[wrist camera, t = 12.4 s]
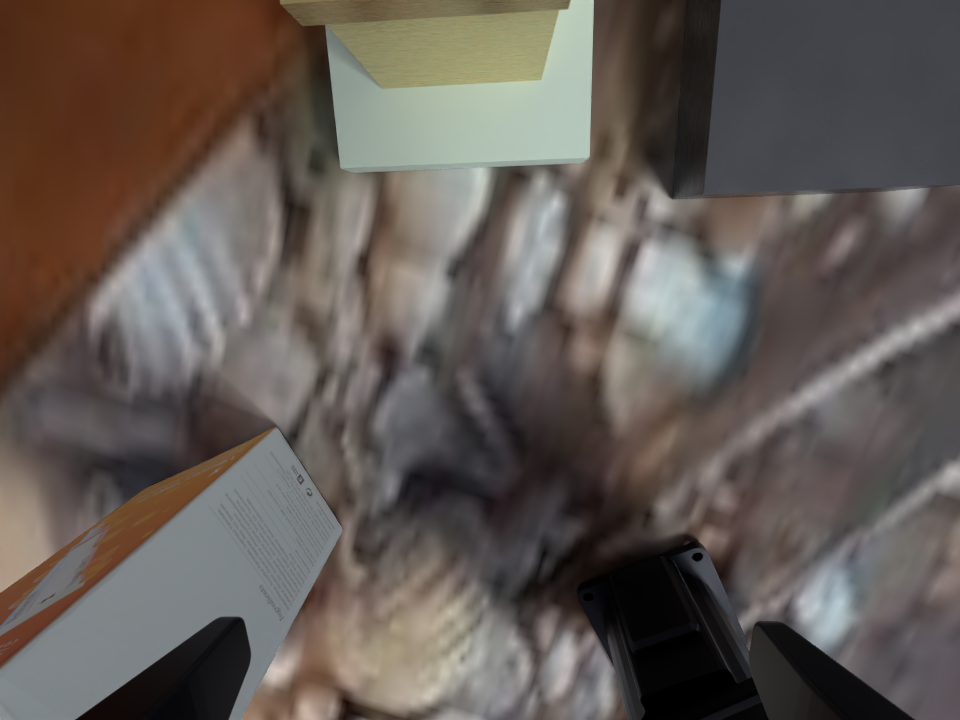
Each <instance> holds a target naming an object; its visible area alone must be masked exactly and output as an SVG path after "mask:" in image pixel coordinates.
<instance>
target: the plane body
mask: <svg viewBox="0 0 960 720" xmlns="http://www.w3.org/2000/svg"><path fill="white" fill-rule="evenodd" d="M950 185H960V0H687V5H686V19H685V32H684V46H683V60H682V73H681V87H680V100H679V114H678V128H677V141H676V155H675V168H674V182H673V196H672V199H697V198H723V197H750V196H776V195H803V194H829V193H855V192H882V191H896V190H907V189H917V188H928V187H939V186H950Z"/></svg>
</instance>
